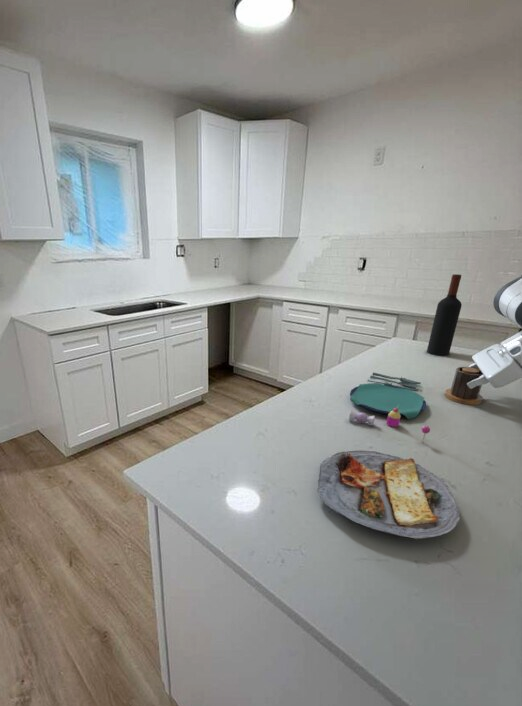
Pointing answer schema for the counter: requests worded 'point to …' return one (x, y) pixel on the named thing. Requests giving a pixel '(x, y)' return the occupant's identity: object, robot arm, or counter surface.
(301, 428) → the counter surface
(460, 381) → the walnut ring
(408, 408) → the cutlery set
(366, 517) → the food plate
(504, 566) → the counter surface
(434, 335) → the wine bottle
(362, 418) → the candy
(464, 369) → the wooden stand
